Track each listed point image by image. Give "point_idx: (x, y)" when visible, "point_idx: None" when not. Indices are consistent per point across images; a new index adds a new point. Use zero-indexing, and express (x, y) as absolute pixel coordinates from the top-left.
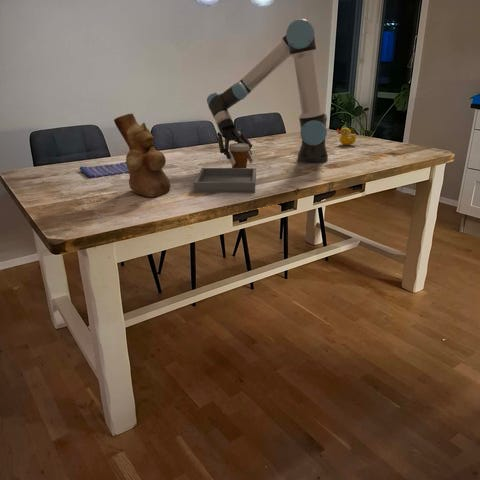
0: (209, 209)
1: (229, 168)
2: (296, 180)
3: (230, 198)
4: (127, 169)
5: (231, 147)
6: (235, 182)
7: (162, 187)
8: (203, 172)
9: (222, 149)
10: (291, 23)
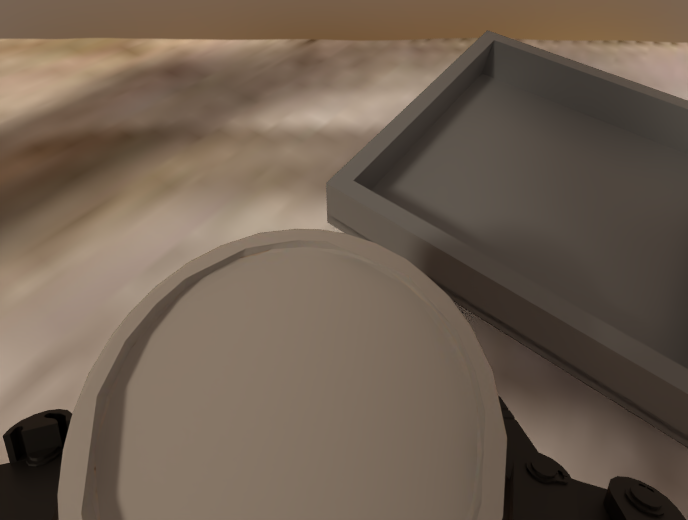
0: (672, 43)
1: (509, 275)
2: (214, 97)
3: None
4: None
5: (491, 392)
6: (567, 62)
7: None
8: None
9: (659, 495)
10: None
